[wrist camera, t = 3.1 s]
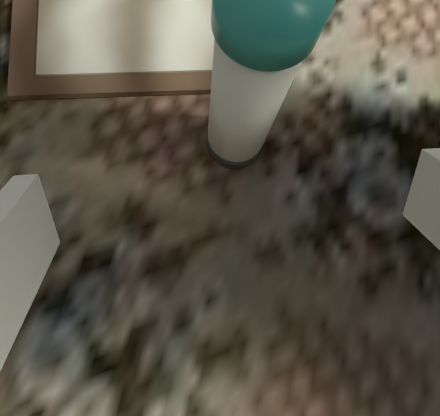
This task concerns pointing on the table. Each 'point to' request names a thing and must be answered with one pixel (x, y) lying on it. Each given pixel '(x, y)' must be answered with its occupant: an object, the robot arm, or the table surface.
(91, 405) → the table surface
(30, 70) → the writing pad
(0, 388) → the table surface
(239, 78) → the marker
